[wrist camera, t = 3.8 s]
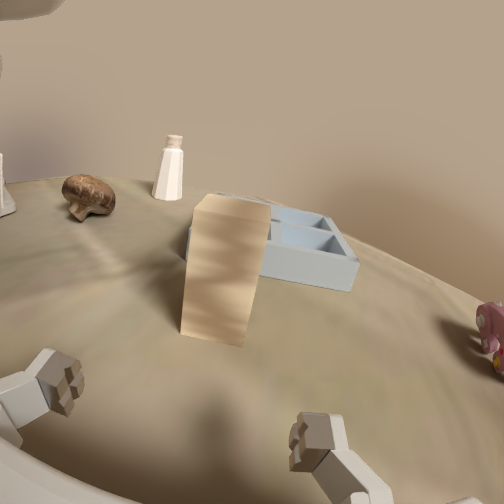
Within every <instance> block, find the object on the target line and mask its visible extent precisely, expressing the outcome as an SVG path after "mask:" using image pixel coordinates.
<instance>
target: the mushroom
mask: <svg viewBox="0 0 504 504" xmlns="http://www.w3.org/2000/svg"><path fill="white" fill-rule="evenodd" d="M62 194H63V196H64V198H65V199H66V200H67V201H68V202H69V203H70V204H71V206H70V207H69V209H68V210H69V211H70V213H71V214H73V215H74V216H75V217H76V218H77V219H78V220H80V221H81V222H82V221H84V219H85V218H86V217H87V215H88V214H89V213H91V212H92V213H96V214H108V213H111V212H112V211H113V209H114V207H115V194H114V192H113V190H112V188H111V187H110V186H109V185H108V184H106V183H104V182H103V181H101V180H99V179H96V178H94V177H92V176H90V175H74V176H71V177H69V178H67V179H66V180H65V182H64V184H63V187H62Z"/></svg>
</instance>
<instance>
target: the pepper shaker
mask: <svg viewBox="0 0 504 504" xmlns="http://www.w3.org/2000/svg"><path fill="white" fill-rule="evenodd" d="M182 139H183V137H182V136H178V135H167V143H166V148H164V149H162V151H161V155H160V159H159V164H158V168H157V172H156V176H155V181H154V185H153V190H152V196H153V197H154V198H155V199H159V200H163V201H177V200H179V199H181V198H182V171H183V170H182V169H183V168H182V167H183V151H182V150H180V147H181V143H182Z"/></svg>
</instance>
